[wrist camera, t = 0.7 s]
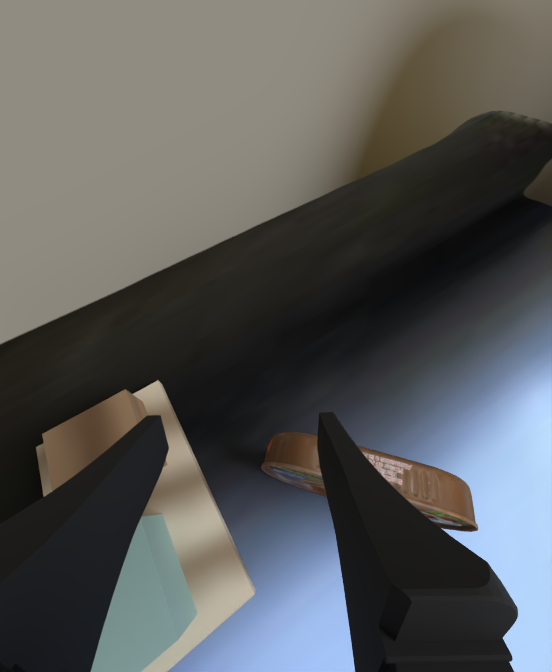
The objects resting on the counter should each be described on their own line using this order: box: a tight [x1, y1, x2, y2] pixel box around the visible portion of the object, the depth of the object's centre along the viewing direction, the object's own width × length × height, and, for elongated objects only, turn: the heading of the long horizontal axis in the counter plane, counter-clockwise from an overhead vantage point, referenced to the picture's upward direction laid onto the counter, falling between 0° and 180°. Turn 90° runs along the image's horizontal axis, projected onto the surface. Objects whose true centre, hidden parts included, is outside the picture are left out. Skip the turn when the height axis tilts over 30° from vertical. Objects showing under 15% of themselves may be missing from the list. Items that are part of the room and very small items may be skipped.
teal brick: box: [91, 514, 198, 672], centre depth 18 cm, size 5×7×4 cm
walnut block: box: [42, 389, 168, 491], centre depth 23 cm, size 7×7×4 cm
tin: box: [261, 432, 478, 532], centre depth 20 cm, size 15×3×8 cm, turn 75°
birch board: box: [36, 381, 256, 672], centre depth 22 cm, size 20×12×1 cm, turn 34°
